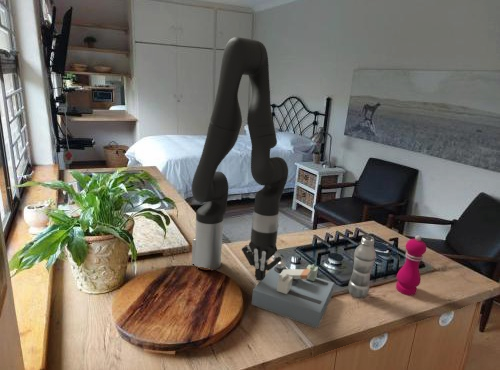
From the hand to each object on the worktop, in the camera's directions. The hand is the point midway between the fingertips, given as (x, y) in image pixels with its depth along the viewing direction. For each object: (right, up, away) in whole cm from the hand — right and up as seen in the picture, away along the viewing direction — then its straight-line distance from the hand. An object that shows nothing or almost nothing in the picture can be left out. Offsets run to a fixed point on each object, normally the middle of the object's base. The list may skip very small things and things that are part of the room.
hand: (259, 279), depth 106 cm
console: (+10, -7, +1) cm, 12 cm away
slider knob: (+7, -3, -3) cm, 8 cm away
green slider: (+16, -1, +5) cm, 17 cm away
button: (+7, +1, +8) cm, 11 cm away
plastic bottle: (+31, -7, +7) cm, 33 cm away
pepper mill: (+49, -7, +12) cm, 51 cm away
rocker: (+11, +1, +2) cm, 11 cm away
